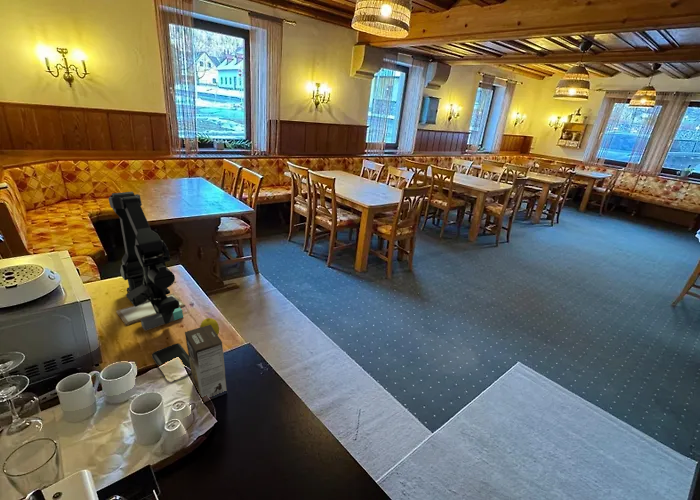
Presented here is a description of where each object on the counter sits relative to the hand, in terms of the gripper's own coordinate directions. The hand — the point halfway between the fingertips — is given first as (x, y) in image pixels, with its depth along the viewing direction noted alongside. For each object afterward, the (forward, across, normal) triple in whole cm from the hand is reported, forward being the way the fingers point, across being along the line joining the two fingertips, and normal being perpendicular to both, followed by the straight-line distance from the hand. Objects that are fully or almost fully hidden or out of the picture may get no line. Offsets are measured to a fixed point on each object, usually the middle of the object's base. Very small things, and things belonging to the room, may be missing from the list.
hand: (162, 318), depth 115 cm
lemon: (+2, +20, +7) cm, 21 cm away
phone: (+2, +23, -5) cm, 24 cm away
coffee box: (+2, +39, -2) cm, 39 cm away
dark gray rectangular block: (+1, 0, 0) cm, 1 cm away
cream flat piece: (+1, -11, 0) cm, 11 cm away
